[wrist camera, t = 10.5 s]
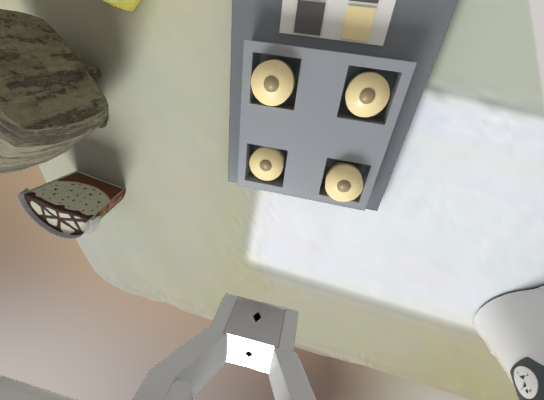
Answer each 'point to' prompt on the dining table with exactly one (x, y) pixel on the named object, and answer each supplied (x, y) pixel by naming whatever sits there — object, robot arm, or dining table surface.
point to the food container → (71, 204)
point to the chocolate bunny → (124, 4)
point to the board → (399, 43)
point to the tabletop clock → (42, 94)
